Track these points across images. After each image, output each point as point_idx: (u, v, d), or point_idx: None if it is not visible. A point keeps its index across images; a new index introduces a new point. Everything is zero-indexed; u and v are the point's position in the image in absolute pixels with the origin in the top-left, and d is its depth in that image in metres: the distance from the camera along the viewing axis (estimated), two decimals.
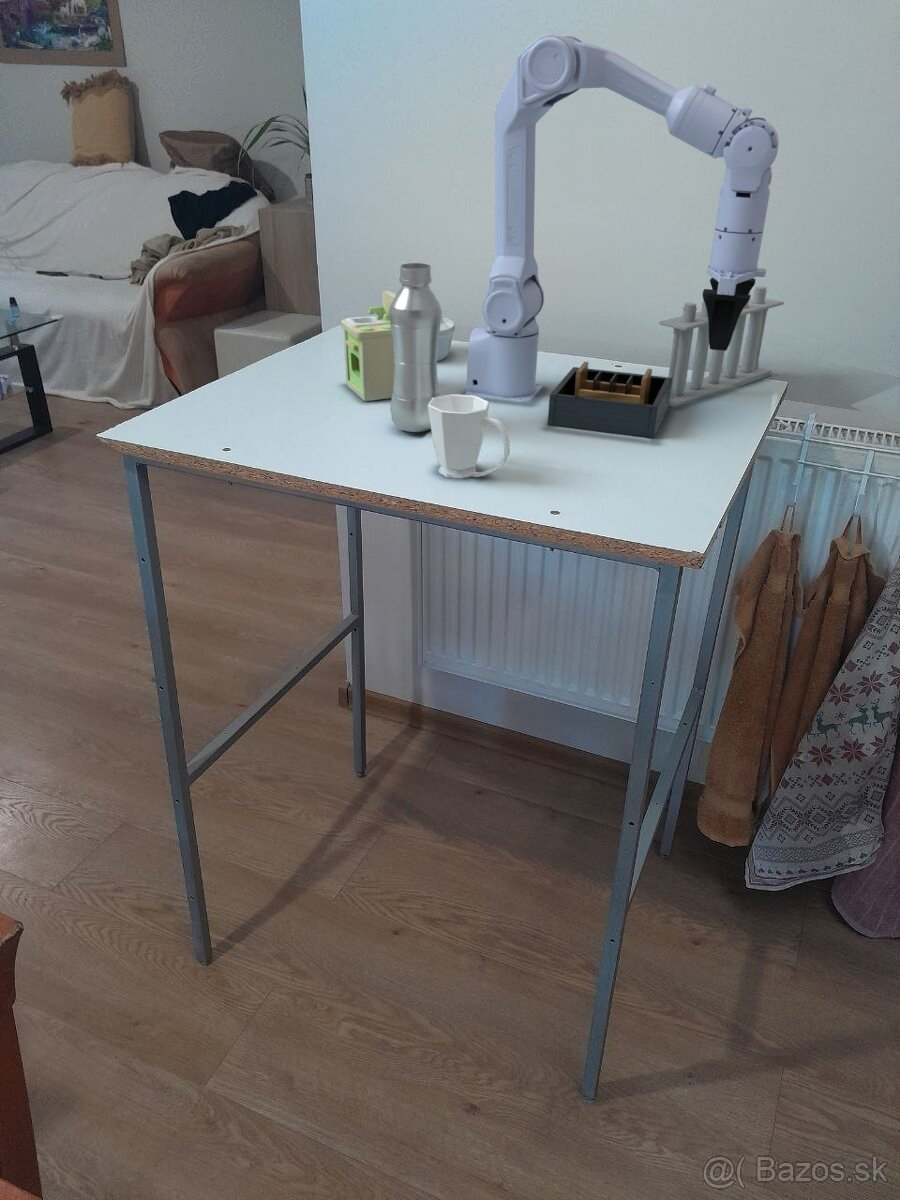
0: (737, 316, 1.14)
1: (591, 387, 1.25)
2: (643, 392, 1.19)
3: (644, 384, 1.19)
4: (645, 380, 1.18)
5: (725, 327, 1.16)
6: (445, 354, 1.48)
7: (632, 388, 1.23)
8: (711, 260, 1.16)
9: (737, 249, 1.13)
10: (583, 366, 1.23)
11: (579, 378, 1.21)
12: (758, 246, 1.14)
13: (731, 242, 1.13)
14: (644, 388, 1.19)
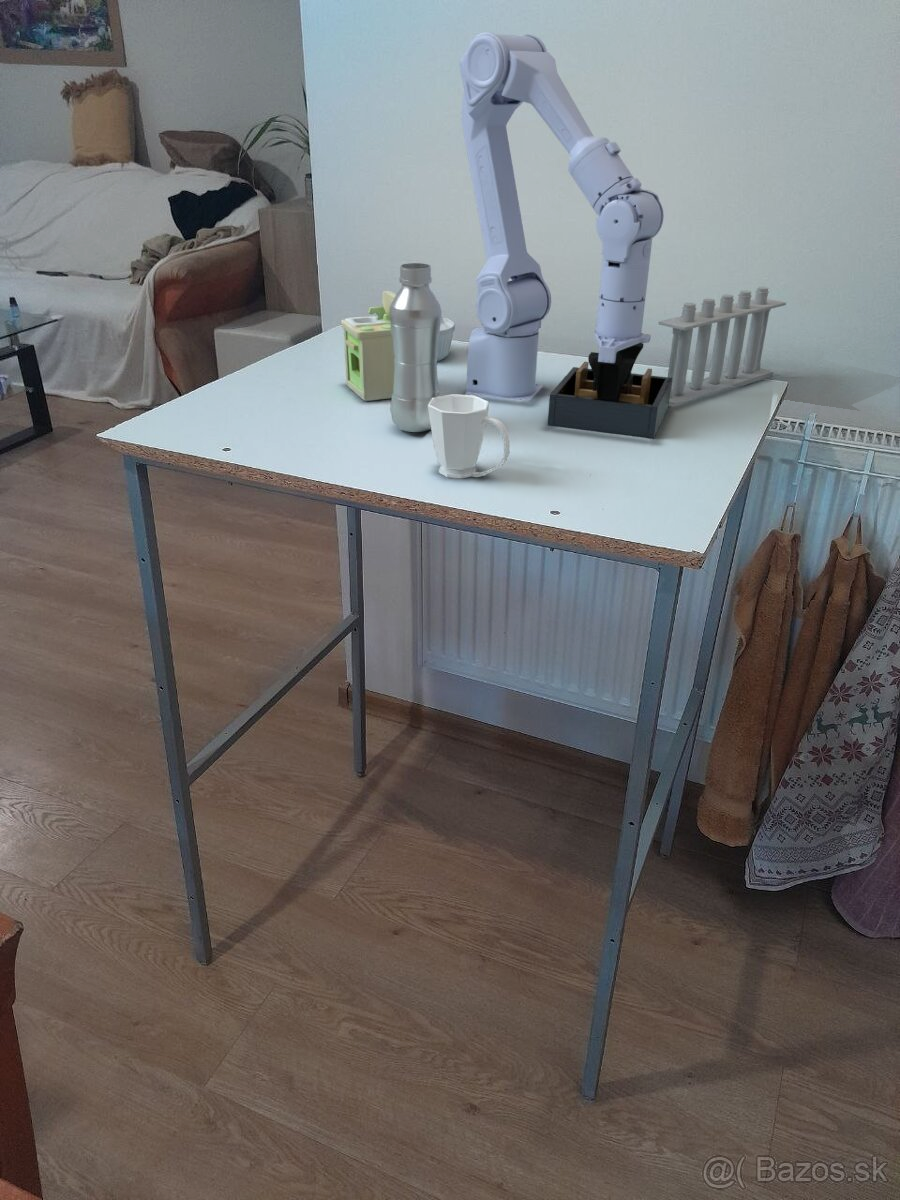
0: (622, 379, 1.18)
1: (591, 387, 1.25)
2: (643, 392, 1.19)
3: (644, 384, 1.19)
4: (645, 380, 1.18)
5: (612, 389, 1.19)
6: (445, 354, 1.48)
7: (632, 388, 1.23)
8: (596, 326, 1.19)
9: (619, 316, 1.15)
10: (583, 366, 1.23)
11: (579, 378, 1.21)
12: (640, 313, 1.16)
13: (613, 310, 1.15)
14: (644, 388, 1.19)
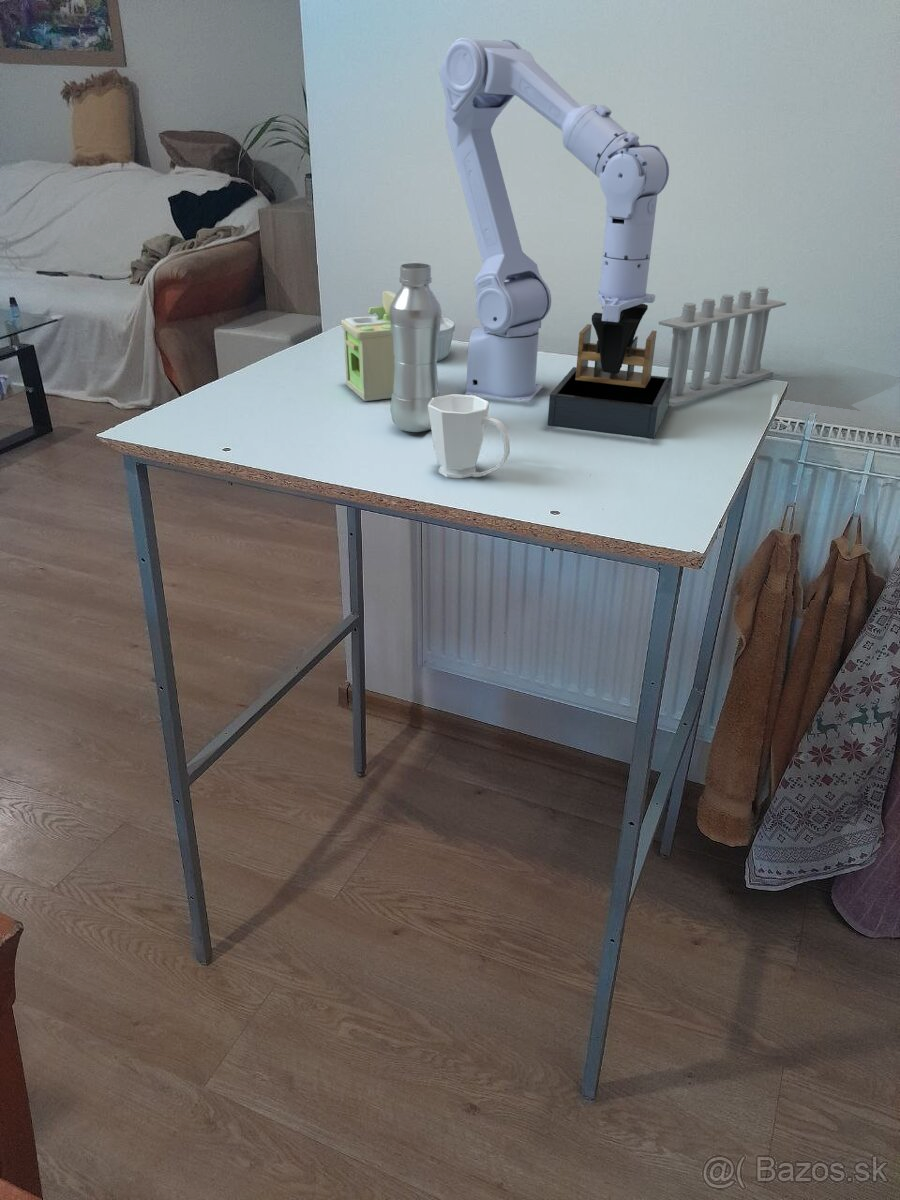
0: (626, 340, 1.15)
1: (594, 350, 1.23)
2: (647, 354, 1.17)
3: (649, 345, 1.16)
4: (650, 341, 1.16)
5: (616, 350, 1.17)
6: (445, 354, 1.48)
7: (636, 351, 1.21)
8: (600, 286, 1.16)
9: (623, 275, 1.13)
10: (586, 328, 1.20)
11: (582, 340, 1.19)
12: (645, 272, 1.14)
13: (617, 268, 1.13)
14: (649, 349, 1.16)
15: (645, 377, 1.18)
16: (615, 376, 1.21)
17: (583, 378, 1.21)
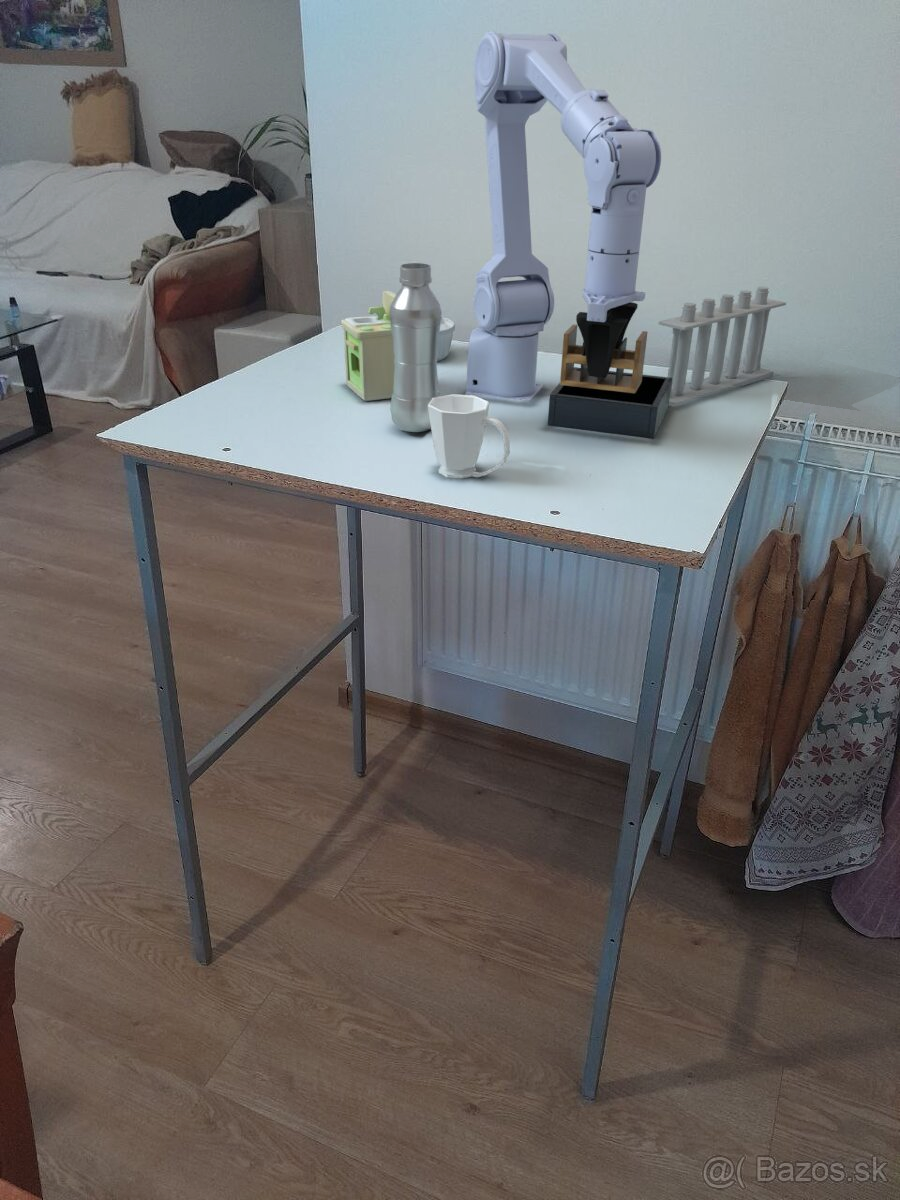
0: (613, 341, 1.06)
1: (580, 353, 1.14)
2: (637, 356, 1.08)
3: (639, 347, 1.07)
4: (640, 342, 1.07)
5: (603, 353, 1.08)
6: (445, 354, 1.48)
7: (625, 353, 1.12)
8: (585, 283, 1.07)
9: (610, 271, 1.04)
10: (571, 329, 1.11)
11: (567, 341, 1.09)
12: (633, 268, 1.04)
13: (603, 263, 1.04)
14: (639, 352, 1.07)
15: (635, 381, 1.09)
16: (603, 380, 1.12)
17: (568, 383, 1.12)
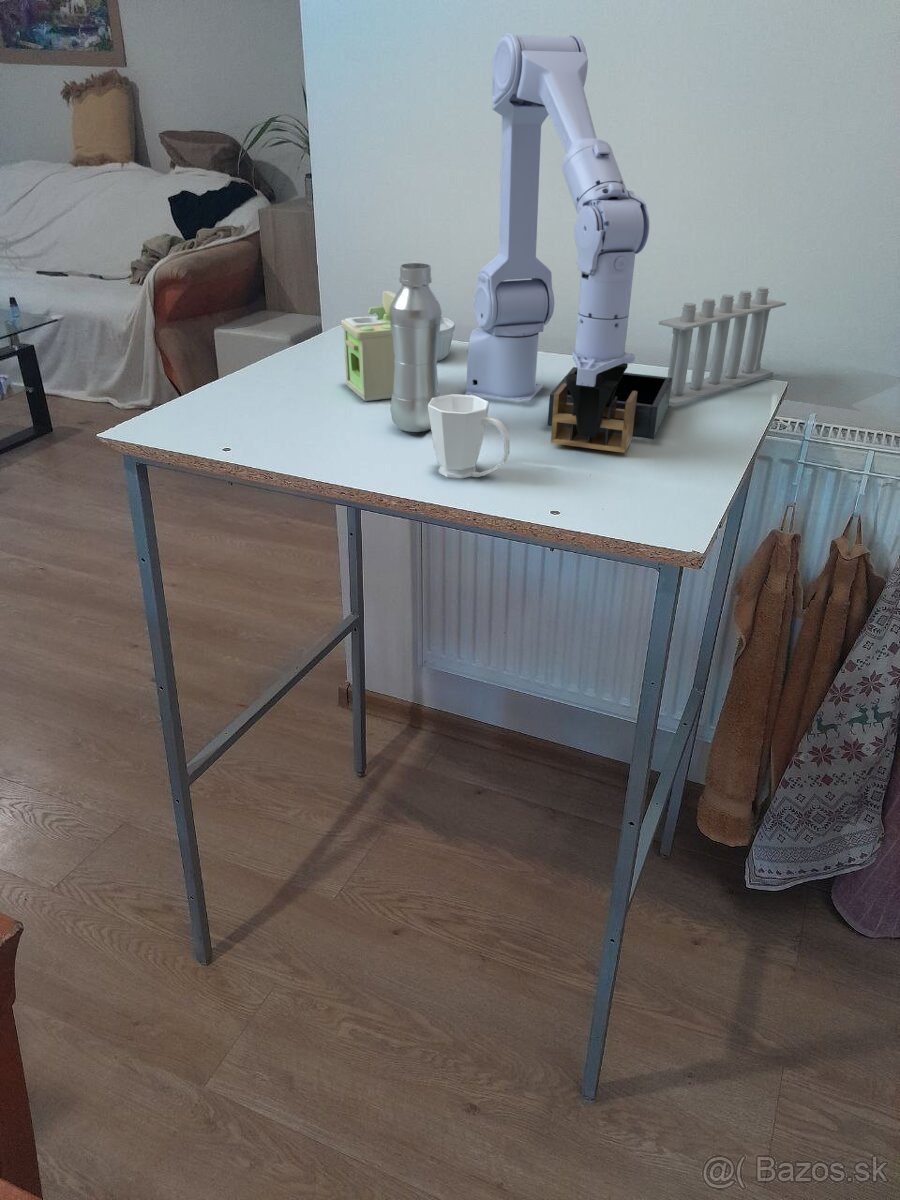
0: (603, 403, 1.07)
1: (571, 410, 1.15)
2: (627, 417, 1.08)
3: (628, 408, 1.08)
4: (629, 404, 1.08)
5: (593, 414, 1.09)
6: (445, 354, 1.48)
7: (616, 412, 1.13)
8: (575, 345, 1.08)
9: (599, 335, 1.05)
10: (562, 388, 1.12)
11: (557, 401, 1.10)
12: (623, 332, 1.05)
13: (593, 328, 1.05)
14: (628, 413, 1.08)
15: (625, 441, 1.10)
16: (593, 439, 1.13)
17: (559, 441, 1.13)
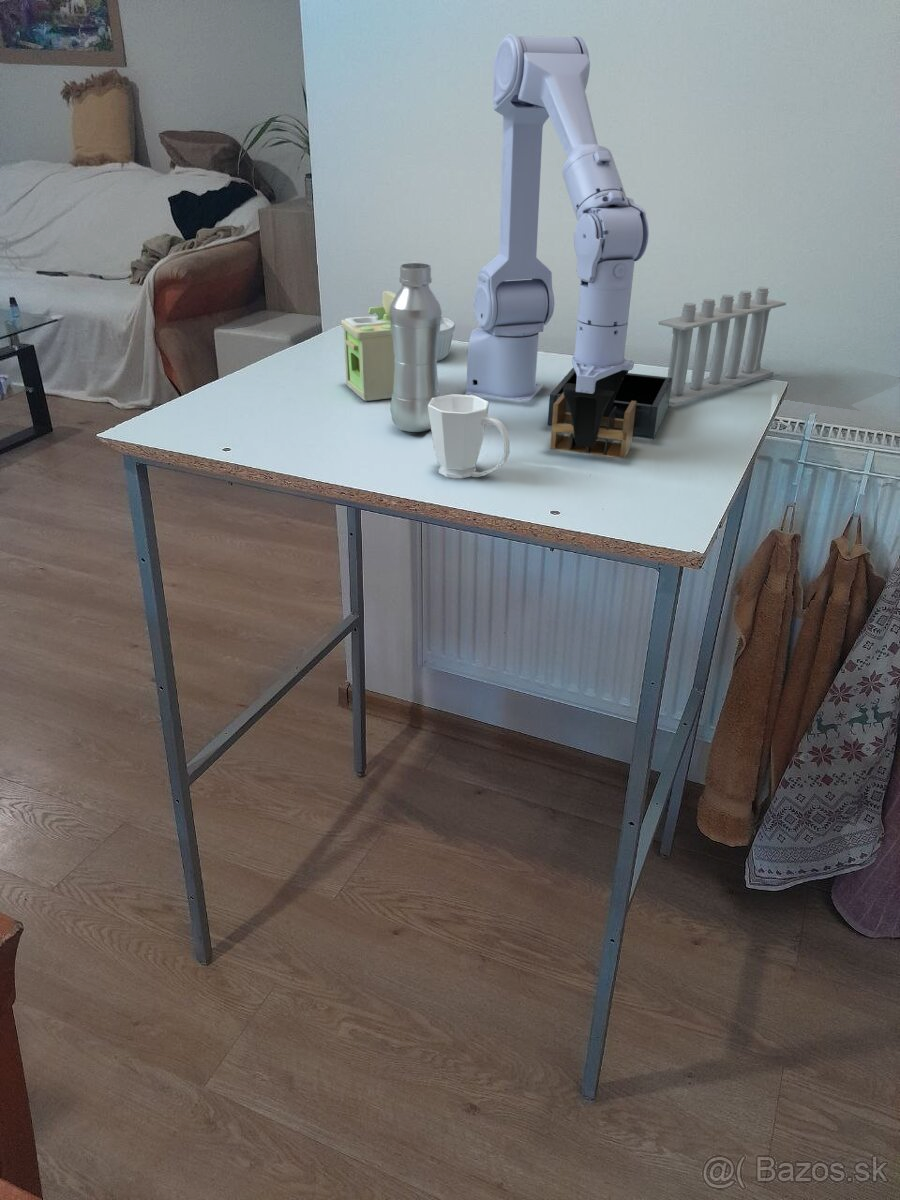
0: (600, 413, 1.06)
1: (570, 420, 1.15)
2: (626, 427, 1.09)
3: (627, 419, 1.09)
4: (628, 414, 1.08)
5: (590, 423, 1.08)
6: (445, 354, 1.48)
7: (615, 422, 1.13)
8: (575, 351, 1.08)
9: (598, 342, 1.05)
10: (561, 398, 1.13)
11: (556, 411, 1.11)
12: (622, 339, 1.06)
13: (592, 335, 1.05)
14: (627, 423, 1.09)
15: (624, 451, 1.11)
16: (592, 448, 1.13)
17: None
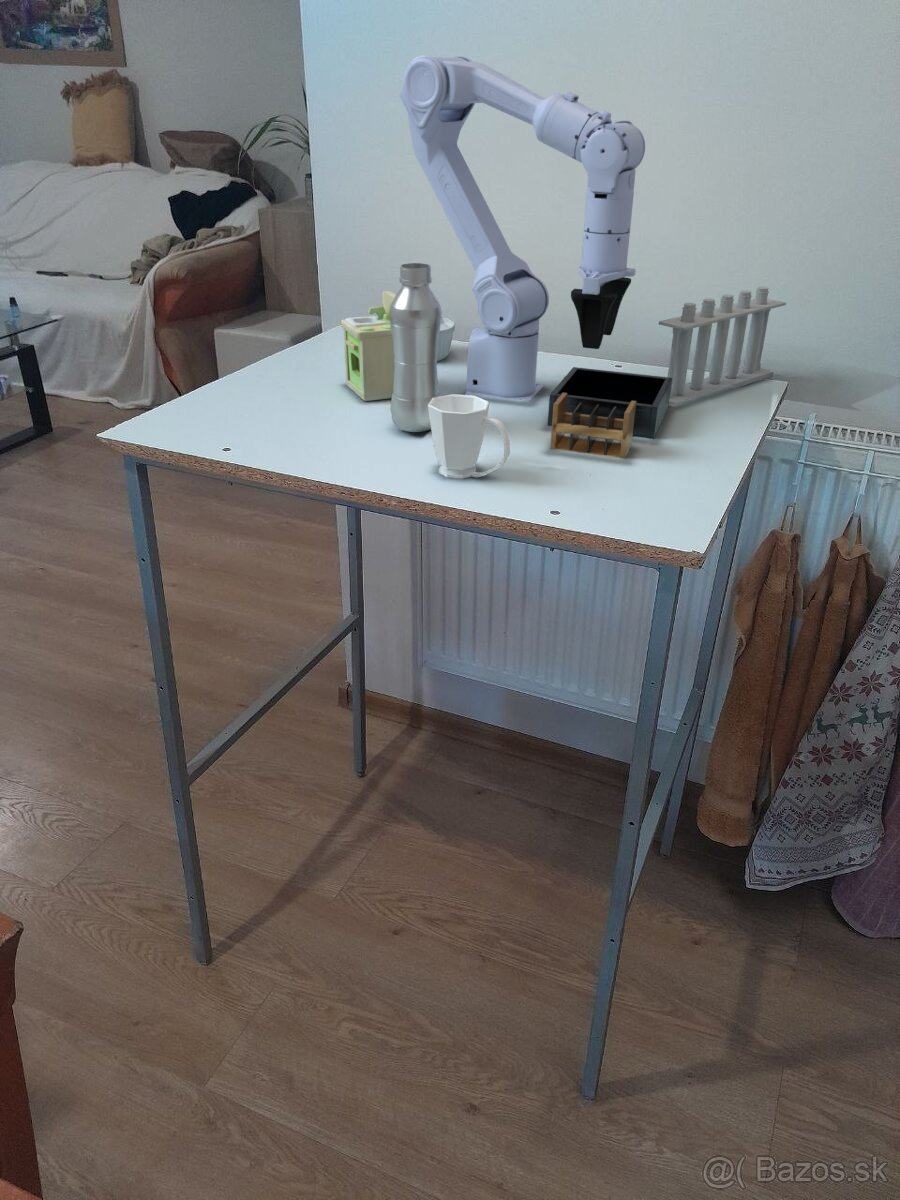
0: (605, 315, 1.17)
1: (570, 420, 1.15)
2: (626, 427, 1.09)
3: (627, 419, 1.09)
4: (628, 414, 1.08)
5: (595, 326, 1.18)
6: (445, 354, 1.48)
7: (615, 421, 1.13)
8: (581, 260, 1.19)
9: (603, 249, 1.15)
10: (561, 398, 1.13)
11: (556, 411, 1.11)
12: (625, 246, 1.16)
13: (597, 242, 1.15)
14: (627, 423, 1.09)
15: (624, 451, 1.11)
16: (592, 448, 1.13)
17: None
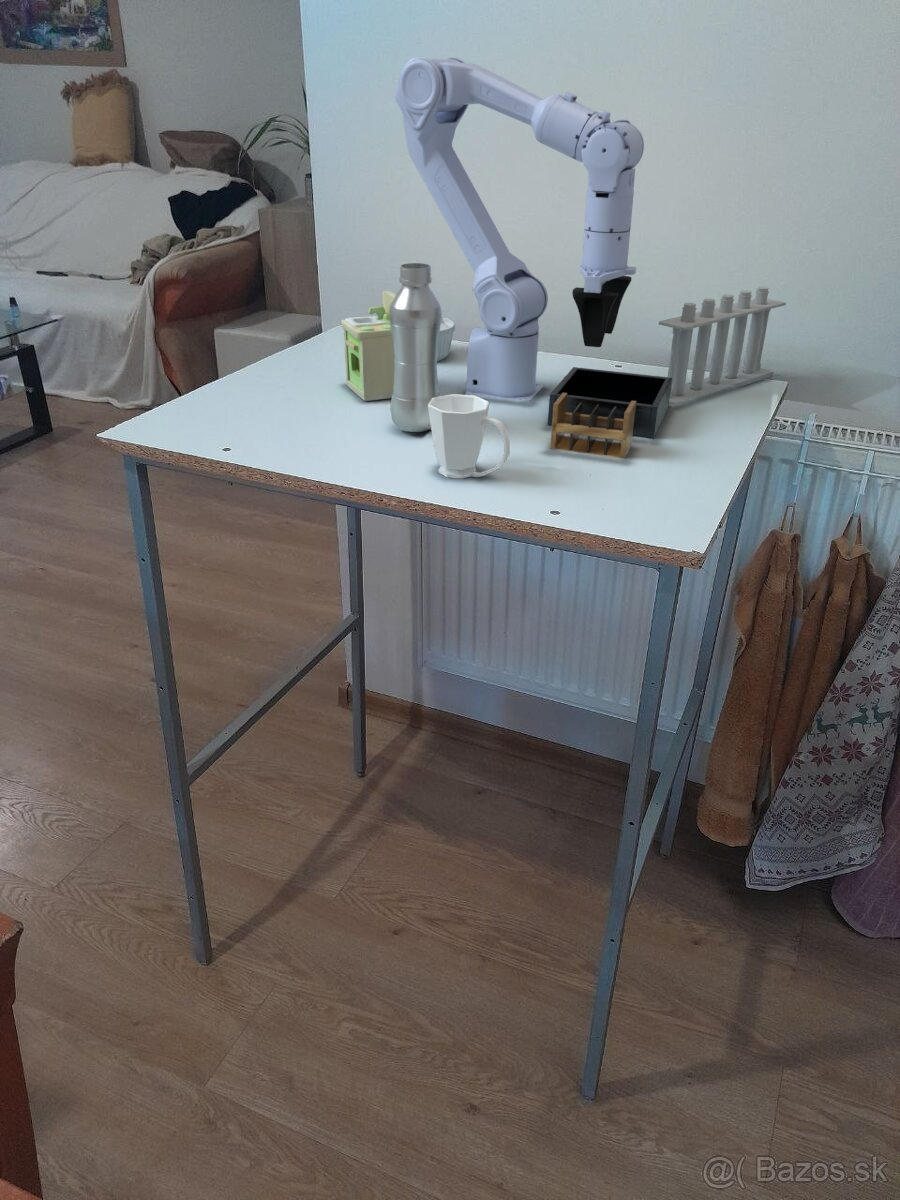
0: (606, 313, 1.17)
1: (570, 420, 1.15)
2: (626, 427, 1.09)
3: (627, 419, 1.09)
4: (628, 414, 1.08)
5: (597, 324, 1.19)
6: (445, 354, 1.48)
7: (615, 421, 1.13)
8: (582, 259, 1.19)
9: (604, 248, 1.16)
10: (561, 398, 1.13)
11: (556, 411, 1.11)
12: (625, 245, 1.17)
13: (598, 241, 1.16)
14: (627, 423, 1.09)
15: (624, 451, 1.11)
16: (592, 448, 1.13)
17: None
